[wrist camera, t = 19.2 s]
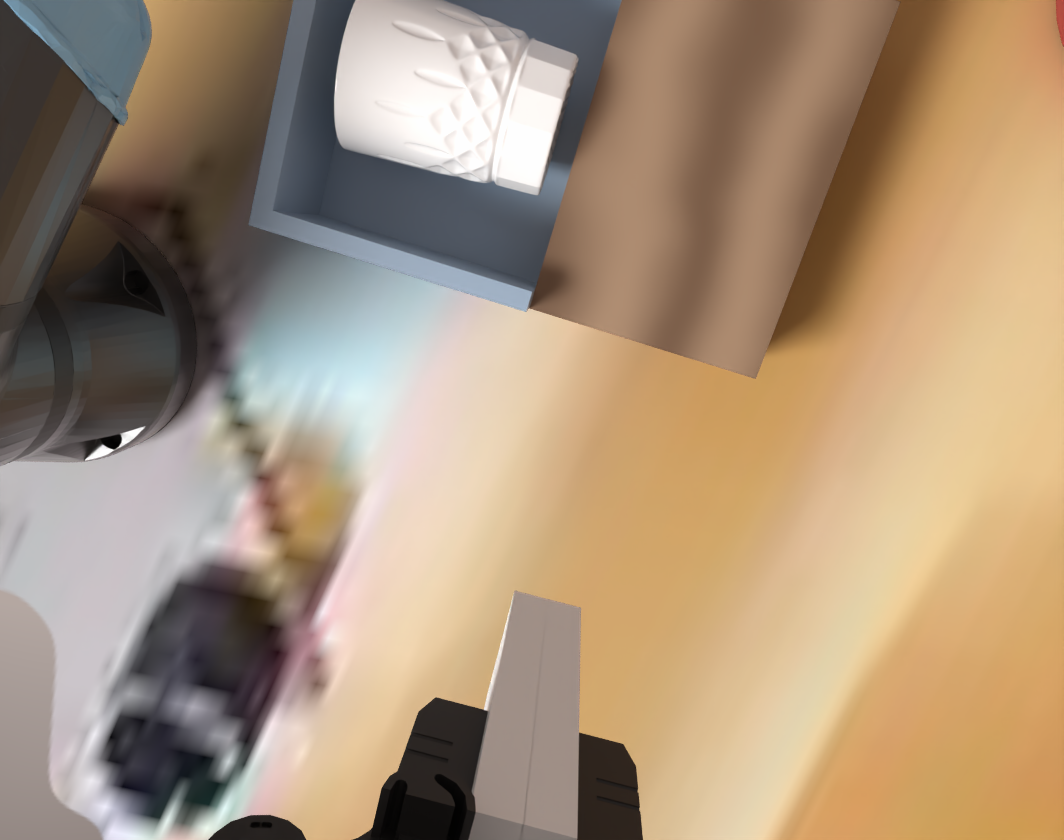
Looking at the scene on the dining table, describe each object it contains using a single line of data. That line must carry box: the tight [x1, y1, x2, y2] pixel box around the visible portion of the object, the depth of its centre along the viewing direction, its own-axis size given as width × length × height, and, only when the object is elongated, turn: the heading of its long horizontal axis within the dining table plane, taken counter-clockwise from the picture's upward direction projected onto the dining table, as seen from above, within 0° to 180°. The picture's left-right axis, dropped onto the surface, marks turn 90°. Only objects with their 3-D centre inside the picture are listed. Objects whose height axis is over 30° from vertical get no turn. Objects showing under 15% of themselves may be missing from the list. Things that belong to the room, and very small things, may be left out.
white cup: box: [334, 0, 579, 195], centre depth 37 cm, size 8×8×10 cm
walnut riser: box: [530, 0, 900, 379], centre depth 39 cm, size 12×18×5 cm, turn 164°
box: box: [249, 0, 622, 312], centre depth 38 cm, size 14×18×7 cm
